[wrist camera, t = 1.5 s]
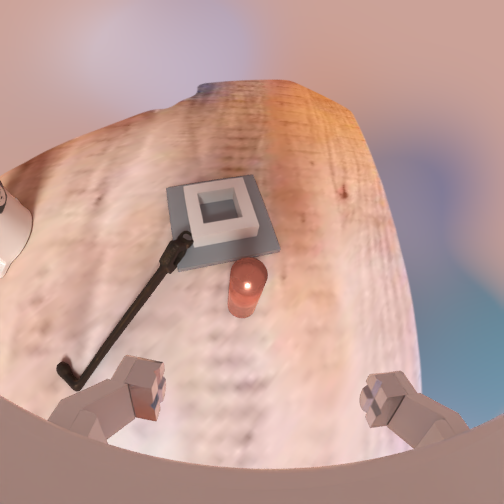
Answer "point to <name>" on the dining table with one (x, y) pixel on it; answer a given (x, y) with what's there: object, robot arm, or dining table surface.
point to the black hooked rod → (131, 309)
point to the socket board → (219, 215)
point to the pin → (246, 286)
